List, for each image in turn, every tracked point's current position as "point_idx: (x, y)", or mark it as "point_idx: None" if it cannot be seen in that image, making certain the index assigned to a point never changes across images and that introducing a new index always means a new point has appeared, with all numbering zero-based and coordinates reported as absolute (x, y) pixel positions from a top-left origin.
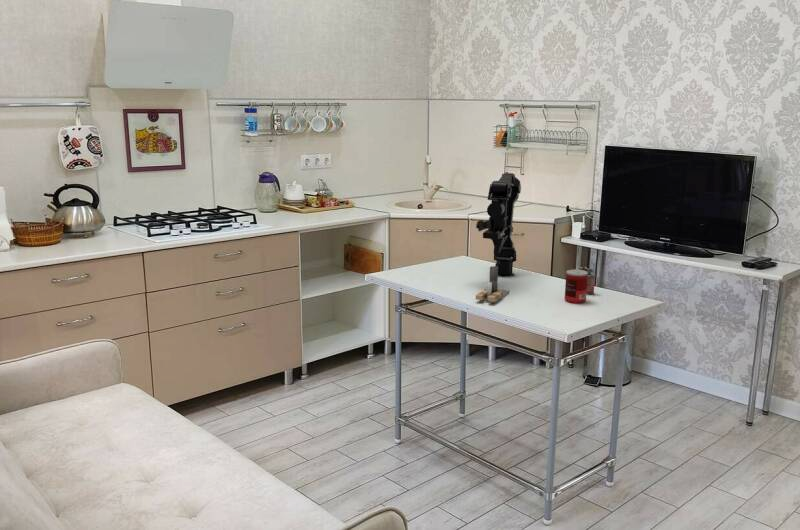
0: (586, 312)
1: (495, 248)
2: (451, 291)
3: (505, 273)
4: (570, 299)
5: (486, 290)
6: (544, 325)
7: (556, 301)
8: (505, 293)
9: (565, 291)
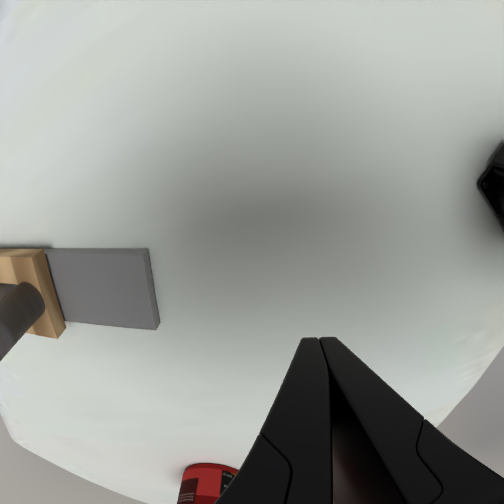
0: (137, 482)
1: (277, 400)
2: (39, 63)
3: (500, 203)
4: (182, 478)
5: (16, 271)
6: (8, 418)
7: (175, 450)
8: (105, 325)
9: (191, 486)
